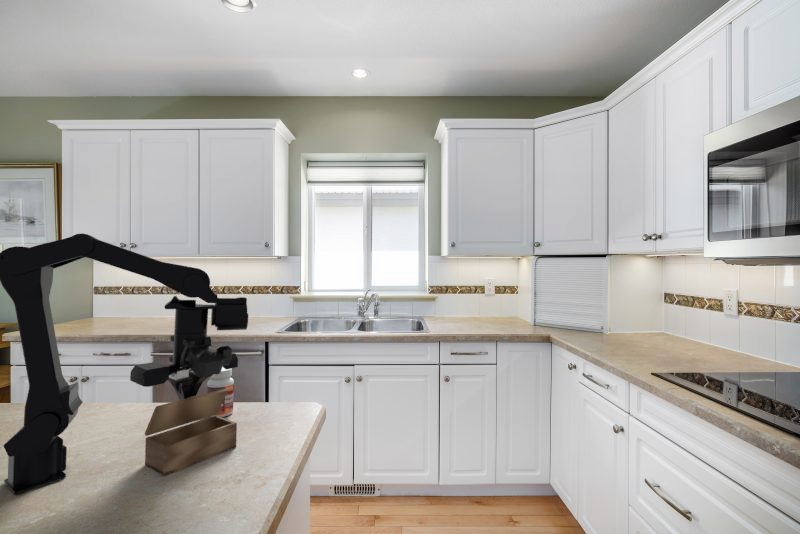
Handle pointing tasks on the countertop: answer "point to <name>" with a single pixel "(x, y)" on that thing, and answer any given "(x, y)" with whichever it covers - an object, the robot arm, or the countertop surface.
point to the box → (189, 444)
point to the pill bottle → (221, 383)
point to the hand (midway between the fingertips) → (186, 409)
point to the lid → (185, 411)
